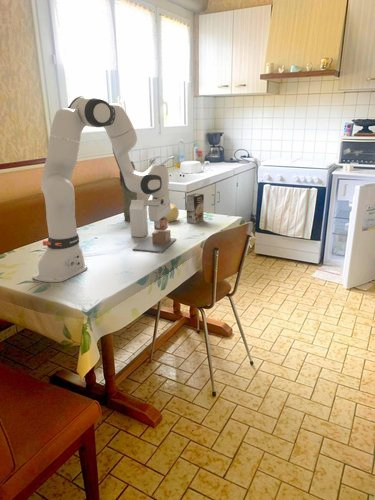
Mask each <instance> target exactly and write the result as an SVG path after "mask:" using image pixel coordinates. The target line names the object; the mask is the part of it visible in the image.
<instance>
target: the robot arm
mask: <svg viewBox="0 0 375 500" xmlns="http://www.w3.org/2000/svg"><path fill="white" fill-rule="evenodd" d="M86 126H87V127H92V128H104V130H105V132H106V133H107V136H108V138H109V141H110V143H111V146H112V147H111V148H112V153H113V156H114V159H115V162H116V165H117V167H118V169H119V173H120V172H121V176H122V183H123V187H124V188H125V190H127V191H128V192H134V193H137V194H141V195H149V198H148V200H146V201H147V206H148V207H147V213H148V219H149V221H150V222H155V223H156V227H157V228H160V227H161V224H160V219H161V218H166V215H167V214H168V213H170V211H171V206H170V204H171V200H170V191H169V190H170V189H169V183H170V179H169V170H168V167H167V165H165V164H158V163H151V164H150V167H148V169H147V170H145V171H143V172H141V171H138V170H137V169H135V170H134V168H133V166H132V164H131V161H132V160H131V158H130V156H129V152H130V151H131V150H133V148H134V147H135V146H136V144H137V142H138V136H137V133H136V130H135V128H134V125H133V124H132V121H131V119H130V118H129V115H128V114H127V112H126V111H125V109H124V107H123V106H122V105H120V104H119V103H109V102H108V101H107V100H105V99H103V98H101V97H95V96H92V95H85V96H83V95H82V96H81V95H80V96H76V98H74V99H73V100H72V101H71V102H70V104H69V106H68V107H62V108H60V109H58V110H56V112H55V114H54V116H53V120H52V123H51V127H50V133H49V138H48V146H47V152H46V159H45V163H44V167H43V171H42V176H41V180H40V189H41V192H42V193H43V197H44V203H45V212H46V216H45V218H46V225H47V231H48V237H47V240H43V241H42V246H44V247H45V246H46V247H47V248H46V249H45V251H44V253H43V255H42V256H41V258H40V259H39V261H38V265H37V269H38V270H37V272H35V273H34V274H33V275H32V278H33V279H34V280H35V281H39V282H45V283H46V282H47V283H60V282H64V281H66V280H68V279H70V278H73V277H74V276H76V275H78V274H80V273H82V272H84V271H86V270H88V266H87V265H86V263H85V258H84V254H83V250H82V248H81V246H80V244H79V243H80V236H79V233H78V229H77V221H76V200H75V199H76V195H75V187H74V185H73V182H72V178H73V173H74V170H75V167H76V164H77V161H78V155H79V150H80V142H81V136H82V132H83V130H84V128H86ZM136 170H137V171H136Z"/></svg>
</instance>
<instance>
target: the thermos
mask: <svg viewBox="0 0 375 500" xmlns="http://www.w3.org/2000/svg"><path fill="white" fill-rule="evenodd" d="M130 161H131V164H132V166H133V168H134V170H136V171H137V172H138V170H137V169H136V166H135V162H134V161H132V160H130ZM119 178H120V179H119V180H120V187H121V190H122V193H123V206H124V208H123V217H124V221H125V222H130V210H129V209H130V205H131V200H138V195H137V194H138V193H134V192H128V191H127V190H125V188H124V187H123V183H122V176H121V172H120V171H119Z"/></svg>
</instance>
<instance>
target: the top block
mask: <svg viewBox="0 0 375 500" xmlns="http://www.w3.org/2000/svg"><path fill="white" fill-rule="evenodd" d="M153 222H154V221H153ZM160 224H161V227H160V228H157V227H156V223H155V222H154V223H153V225H154V227H153V228H154V231H156V230H162V231H164V230H168V228H169V227H168V222H167V218H161V219H160Z"/></svg>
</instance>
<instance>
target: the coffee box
mask: <svg viewBox="0 0 375 500" xmlns="http://www.w3.org/2000/svg"><path fill="white" fill-rule="evenodd" d="M204 196H205V195H204V193H203V194H202V193H192V194H189V195H186V223H189V224H190V223H191V224H194V225H195V224H198V223H201V222H203V221H204V214H205V212H204V211H205V209H204V208H205V207H204V206H205V205H204V200H205V199H204V198H205V197H204Z"/></svg>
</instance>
